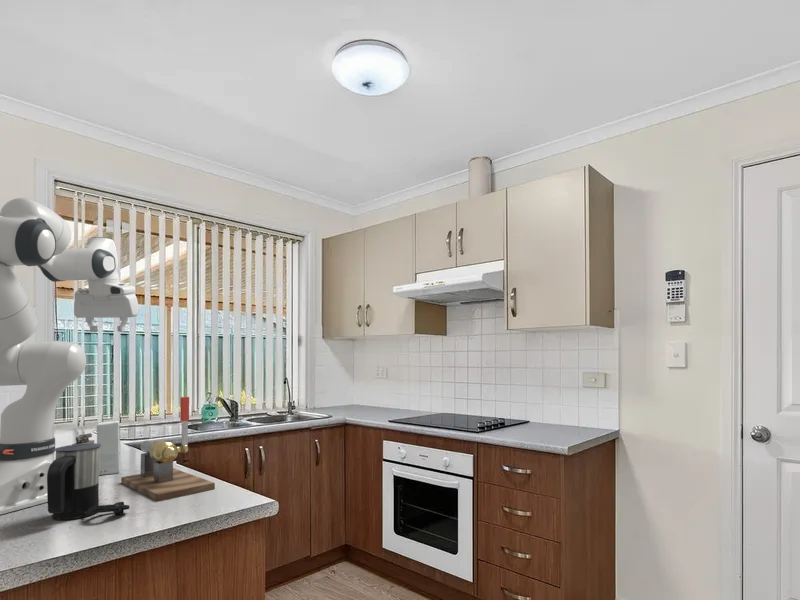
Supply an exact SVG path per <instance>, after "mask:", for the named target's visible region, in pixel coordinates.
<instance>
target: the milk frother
mask: <svg viewBox="0 0 800 600" xmlns="http://www.w3.org/2000/svg"><path fill="white" fill-rule="evenodd" d="M100 446H101V444H97V442H94V443H91V444H76V445H72V444H69V445H63V446H59V447H55V449H54V450H55V458H54V461H53V462H52V463H51V465H50V467H49V469H48V473H47V495H48V502H47V511H48V514H51V518H52V519H53V520H59V521H60V520H61V521H62V520H75V519H80V518H81V519H82V518H85V517H89V516H92V515H95V514H100V513H101V514H103V513H111V512H113V513H114V515H115V516H118V515H123V514H124V511H125V510H129V509H130V507H131V506H130V505H129V504H125V502H123V501H119V502H118V501H117V502H115V503H114V504H101V505H100V502H99V501H100V499H99V495H100V492H99V486H100V484H99V482H100V481H99V480H100V475H99V449H100Z"/></svg>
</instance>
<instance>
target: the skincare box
mask: <svg viewBox="0 0 800 600" xmlns="http://www.w3.org/2000/svg"><path fill="white" fill-rule="evenodd" d="M120 443H121V441H120V420H110V421H102V422H99V423H97V425H96V444H101V446H100V449H99V476H102V475H114V474H119V473H120V469H121V455H120V454H121V451H120V450H121V448H120V447H121V446H120Z"/></svg>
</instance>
